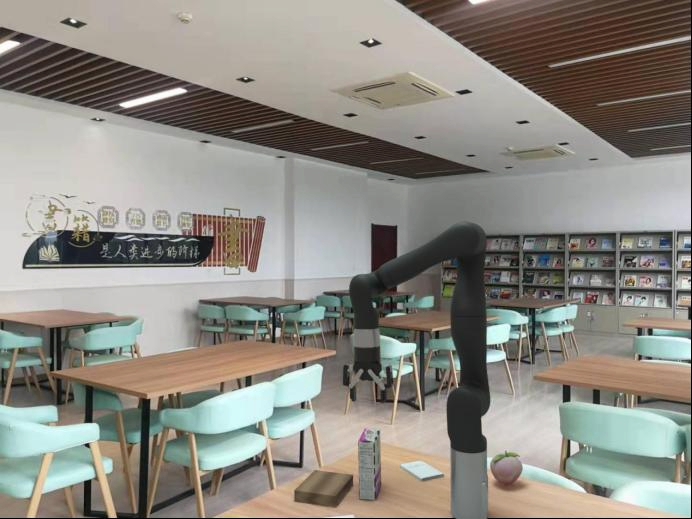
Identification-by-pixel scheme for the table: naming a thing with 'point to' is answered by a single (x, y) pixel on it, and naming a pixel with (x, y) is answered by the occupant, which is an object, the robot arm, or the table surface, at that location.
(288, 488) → the table surface
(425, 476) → the external hard drive
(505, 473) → the decorative fruit
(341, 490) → the block
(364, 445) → the candy bar box
